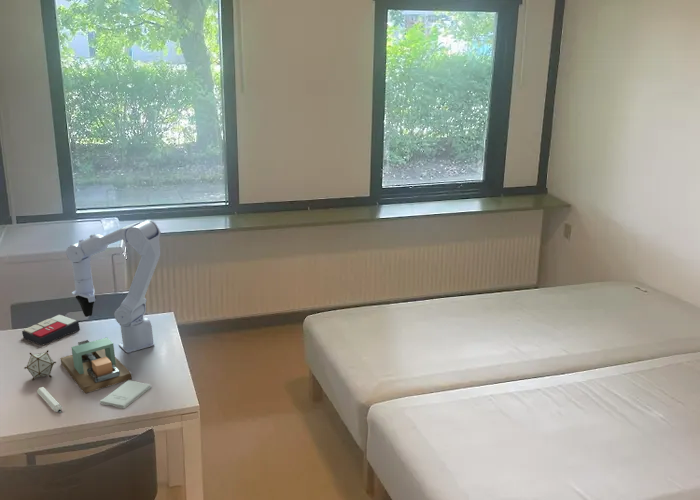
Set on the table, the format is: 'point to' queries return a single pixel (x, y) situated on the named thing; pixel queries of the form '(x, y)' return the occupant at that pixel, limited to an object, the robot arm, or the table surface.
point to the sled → (90, 370)
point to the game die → (40, 365)
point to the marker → (49, 399)
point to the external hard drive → (125, 394)
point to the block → (102, 366)
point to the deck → (86, 381)
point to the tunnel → (90, 348)
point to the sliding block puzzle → (51, 329)
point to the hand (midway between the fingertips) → (88, 315)
